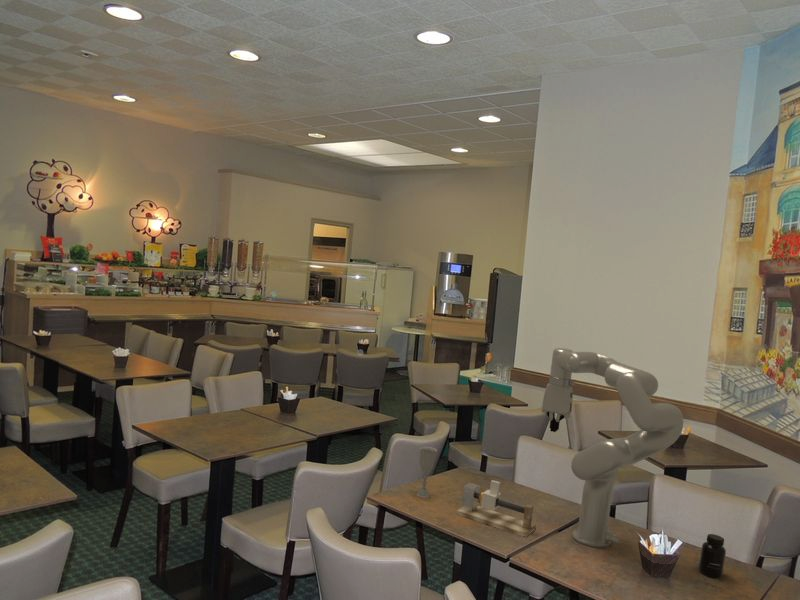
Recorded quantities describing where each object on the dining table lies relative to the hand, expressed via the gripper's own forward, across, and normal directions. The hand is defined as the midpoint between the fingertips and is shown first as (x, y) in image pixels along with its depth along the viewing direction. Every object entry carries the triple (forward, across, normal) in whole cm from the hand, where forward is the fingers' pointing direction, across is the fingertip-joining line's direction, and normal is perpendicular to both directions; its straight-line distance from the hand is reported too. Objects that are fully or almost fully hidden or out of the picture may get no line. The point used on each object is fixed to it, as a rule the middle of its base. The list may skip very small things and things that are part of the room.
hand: (553, 431), depth 234 cm
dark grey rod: (+26, +11, +19) cm, 34 cm away
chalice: (+32, +42, +17) cm, 56 cm away
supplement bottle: (+32, -57, +4) cm, 66 cm away
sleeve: (+28, +14, +19) cm, 36 cm away
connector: (+31, +20, +19) cm, 41 cm away
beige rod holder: (+32, +11, +19) cm, 39 cm away
